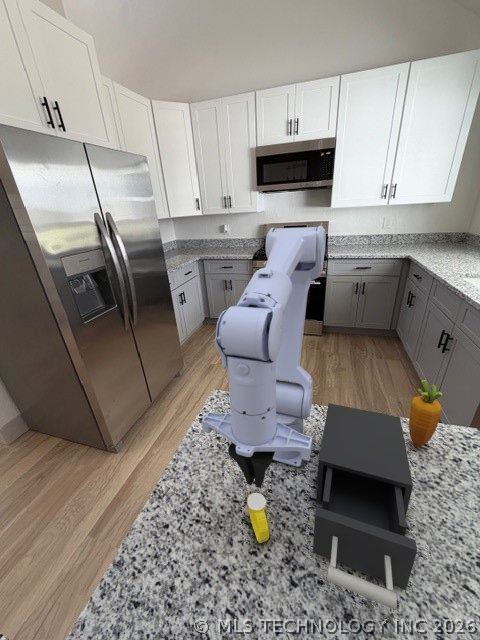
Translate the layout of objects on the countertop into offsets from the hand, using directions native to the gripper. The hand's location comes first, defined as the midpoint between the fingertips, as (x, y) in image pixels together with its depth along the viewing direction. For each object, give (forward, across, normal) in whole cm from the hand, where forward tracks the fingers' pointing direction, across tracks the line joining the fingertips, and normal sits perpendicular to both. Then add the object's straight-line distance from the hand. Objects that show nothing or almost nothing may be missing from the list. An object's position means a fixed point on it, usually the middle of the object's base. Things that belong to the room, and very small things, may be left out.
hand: (256, 480), depth 39 cm
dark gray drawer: (+9, +14, +3) cm, 17 cm away
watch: (+11, 0, 0) cm, 11 cm away
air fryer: (+10, +14, +14) cm, 23 cm away
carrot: (+11, +25, +26) cm, 38 cm away
